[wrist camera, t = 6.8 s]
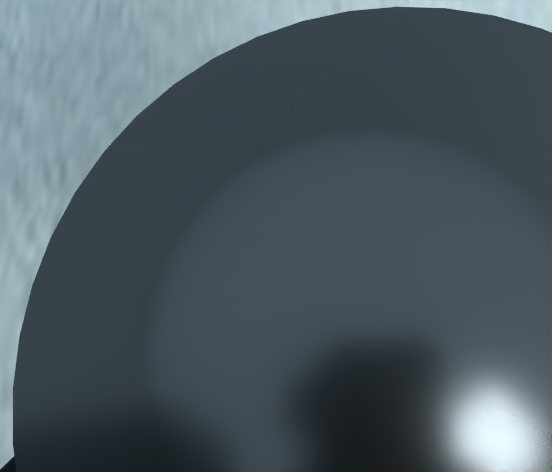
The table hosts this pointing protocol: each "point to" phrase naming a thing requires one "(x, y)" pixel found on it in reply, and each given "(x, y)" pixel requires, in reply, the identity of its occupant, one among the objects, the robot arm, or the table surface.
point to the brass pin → (310, 263)
